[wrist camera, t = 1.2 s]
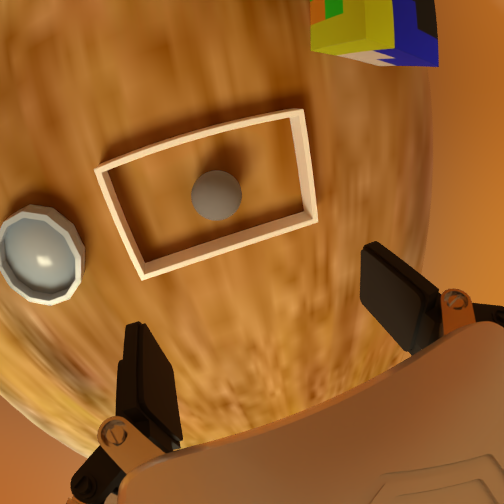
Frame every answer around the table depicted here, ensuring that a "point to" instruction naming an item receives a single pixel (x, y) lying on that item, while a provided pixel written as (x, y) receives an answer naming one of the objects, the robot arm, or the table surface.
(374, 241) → the robot arm
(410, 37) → the puzzle toy
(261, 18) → the table surface
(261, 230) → the white rectangular frame
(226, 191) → the ball
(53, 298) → the bowl
